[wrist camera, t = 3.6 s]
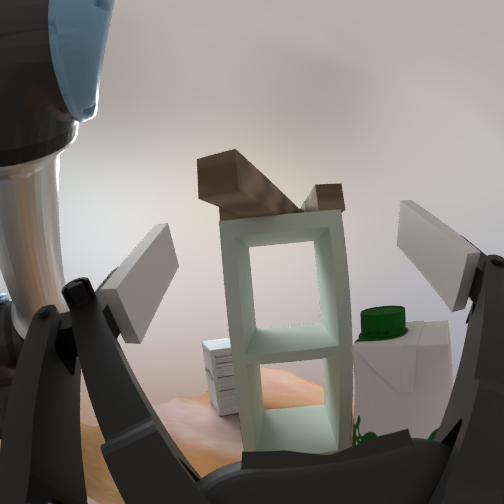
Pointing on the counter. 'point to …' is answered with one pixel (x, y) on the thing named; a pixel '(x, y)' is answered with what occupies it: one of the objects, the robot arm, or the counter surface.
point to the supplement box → (220, 375)
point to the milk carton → (400, 375)
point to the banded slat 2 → (324, 198)
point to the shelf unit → (291, 335)
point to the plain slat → (240, 187)
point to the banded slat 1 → (228, 215)
